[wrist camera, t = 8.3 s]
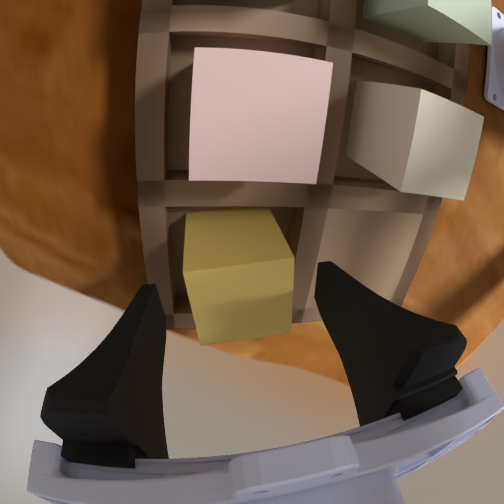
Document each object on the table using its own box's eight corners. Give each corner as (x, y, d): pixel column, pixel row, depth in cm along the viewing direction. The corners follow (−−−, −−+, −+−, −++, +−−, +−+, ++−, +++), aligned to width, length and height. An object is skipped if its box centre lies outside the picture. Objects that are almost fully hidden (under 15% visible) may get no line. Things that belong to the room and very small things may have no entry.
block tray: (444, -24, 9) (468, -28, 7) (384, 291, 21) (398, 311, 19) (171, -93, 6) (168, -114, 4) (158, 302, 18) (155, 328, 16)
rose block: (287, 67, 11) (333, 62, 7) (278, 149, 14) (315, 184, 9) (196, 60, 11) (194, 47, 7) (192, 146, 13) (188, 180, 9)
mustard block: (266, 202, 15) (294, 257, 11) (268, 267, 17) (291, 332, 13) (186, 212, 15) (182, 272, 10) (197, 277, 17) (200, 345, 13)
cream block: (417, 98, 13) (484, 117, 9) (404, 164, 15) (463, 200, 11) (356, 80, 12) (421, 88, 8) (344, 155, 14) (400, 191, 10)
